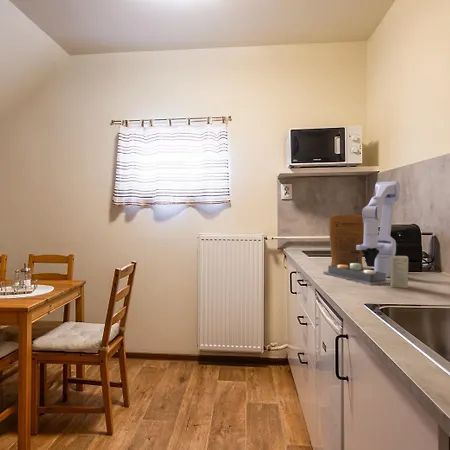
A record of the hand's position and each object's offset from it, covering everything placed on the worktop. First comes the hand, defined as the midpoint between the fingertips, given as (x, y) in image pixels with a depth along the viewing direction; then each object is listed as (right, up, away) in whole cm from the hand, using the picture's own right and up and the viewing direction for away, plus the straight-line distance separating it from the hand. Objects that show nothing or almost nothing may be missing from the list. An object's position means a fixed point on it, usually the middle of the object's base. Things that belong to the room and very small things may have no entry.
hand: (369, 266), depth 156 cm
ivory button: (0, -5, 0) cm, 5 cm away
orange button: (-7, -5, +15) cm, 17 cm away
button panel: (-4, -6, +7) cm, 10 cm away
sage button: (-4, -3, +7) cm, 9 cm away
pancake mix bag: (+4, -5, +41) cm, 41 cm away
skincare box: (+8, -7, -10) cm, 14 cm away
